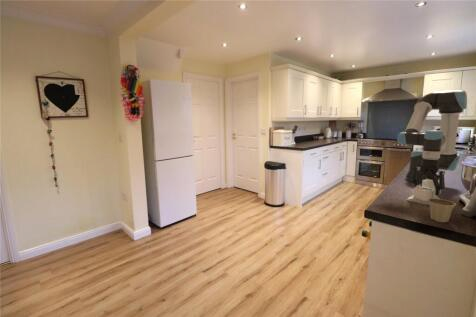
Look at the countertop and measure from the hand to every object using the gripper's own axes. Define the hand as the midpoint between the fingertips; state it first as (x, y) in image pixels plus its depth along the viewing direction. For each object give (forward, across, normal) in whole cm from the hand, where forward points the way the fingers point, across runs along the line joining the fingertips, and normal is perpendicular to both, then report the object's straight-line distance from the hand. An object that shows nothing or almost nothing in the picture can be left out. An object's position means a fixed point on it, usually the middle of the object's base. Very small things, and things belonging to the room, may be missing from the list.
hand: (425, 198), depth 130 cm
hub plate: (+1, -1, 0) cm, 1 cm away
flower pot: (+2, +18, -23) cm, 29 cm away
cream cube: (0, 0, -1) cm, 1 cm away
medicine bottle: (+2, -8, +20) cm, 22 cm away
